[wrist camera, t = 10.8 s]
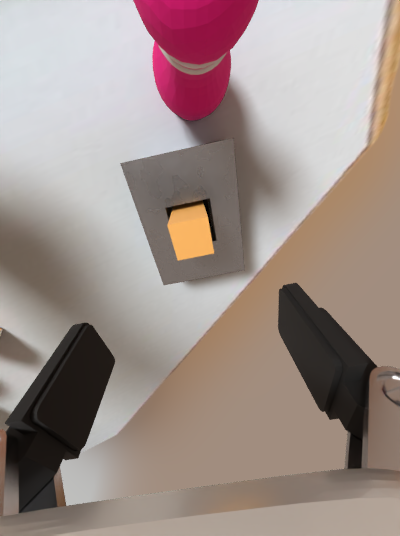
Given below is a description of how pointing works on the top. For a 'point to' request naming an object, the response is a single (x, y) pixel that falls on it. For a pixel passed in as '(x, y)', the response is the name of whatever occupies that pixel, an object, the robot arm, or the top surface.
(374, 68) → the top surface
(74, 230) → the top surface
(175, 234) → the wedge peg
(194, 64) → the pepper mill
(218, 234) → the socket block
